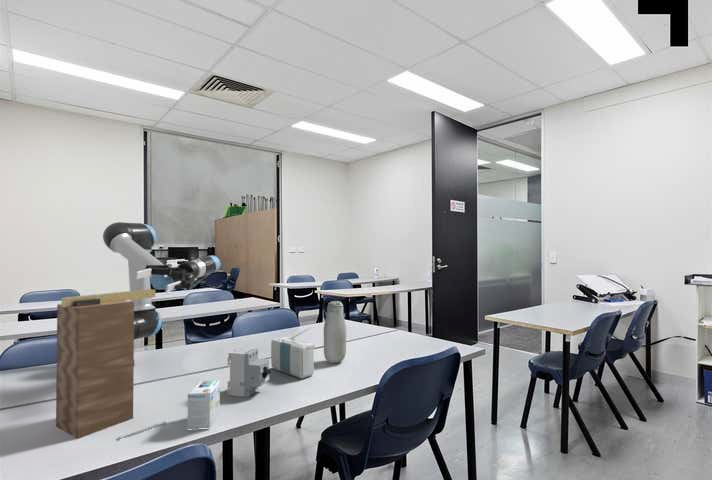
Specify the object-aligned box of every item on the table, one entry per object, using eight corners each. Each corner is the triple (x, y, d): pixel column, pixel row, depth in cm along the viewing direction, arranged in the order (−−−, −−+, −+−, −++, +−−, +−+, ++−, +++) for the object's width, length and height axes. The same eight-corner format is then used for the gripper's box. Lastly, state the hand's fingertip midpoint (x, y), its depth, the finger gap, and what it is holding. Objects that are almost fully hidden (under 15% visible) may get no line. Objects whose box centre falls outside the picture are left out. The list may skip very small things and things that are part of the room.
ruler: (119, 441, 106) (119, 437, 106) (118, 440, 106) (118, 436, 106) (166, 425, 115) (166, 422, 115) (164, 424, 116) (164, 421, 116)
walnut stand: (55, 426, 114) (57, 299, 114) (110, 408, 126) (111, 294, 127) (77, 438, 106) (79, 302, 107) (133, 418, 119) (134, 296, 120)
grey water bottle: (333, 367, 169) (333, 303, 170) (319, 362, 177) (319, 301, 177) (350, 362, 176) (350, 301, 176) (336, 357, 183) (336, 299, 184)
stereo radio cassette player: (270, 369, 166) (270, 323, 167) (285, 365, 172) (285, 320, 173) (300, 381, 152) (300, 330, 152) (316, 375, 158) (316, 327, 158)
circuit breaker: (264, 398, 135) (264, 355, 135) (227, 395, 138) (227, 352, 138) (273, 390, 142) (273, 349, 142) (238, 387, 145) (238, 347, 145)
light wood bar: (61, 306, 111) (61, 297, 111) (150, 296, 133) (150, 289, 133) (66, 307, 109) (66, 298, 109) (155, 297, 131) (155, 289, 131)
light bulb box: (198, 414, 121) (198, 380, 122) (220, 414, 122) (220, 379, 122) (186, 431, 111) (186, 393, 111) (210, 430, 111) (210, 392, 111)
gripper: (168, 251, 160) (125, 260, 140) (219, 272, 154) (182, 285, 134) (165, 268, 161) (122, 279, 141) (215, 289, 156) (178, 304, 136)
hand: (151, 282), depth 138 cm, fingers open, 13 cm apart
